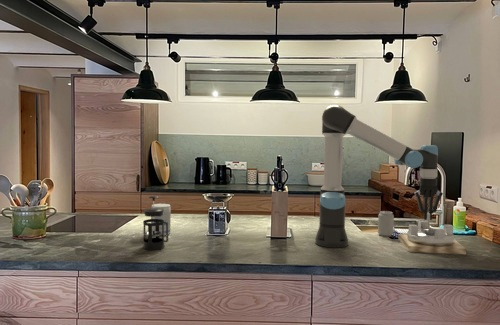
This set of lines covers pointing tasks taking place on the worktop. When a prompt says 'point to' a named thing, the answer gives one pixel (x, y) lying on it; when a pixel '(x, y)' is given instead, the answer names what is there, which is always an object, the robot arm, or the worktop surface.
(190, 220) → the worktop surface
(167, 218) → the supplement tub
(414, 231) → the ring nut
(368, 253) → the worktop surface
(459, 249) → the base plate
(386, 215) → the can
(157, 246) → the french press
